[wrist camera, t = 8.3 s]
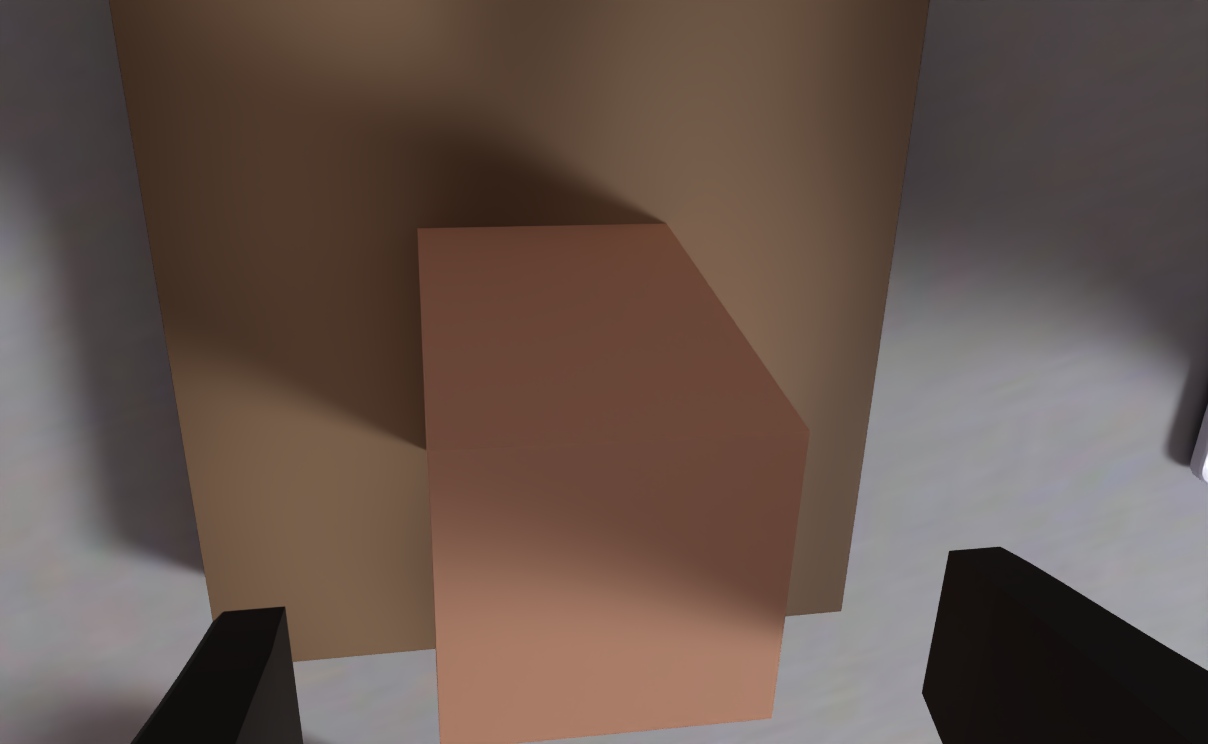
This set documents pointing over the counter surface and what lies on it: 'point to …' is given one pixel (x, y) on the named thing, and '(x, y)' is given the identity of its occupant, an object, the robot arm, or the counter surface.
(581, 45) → the walnut base
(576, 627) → the terracotta block
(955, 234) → the counter surface
